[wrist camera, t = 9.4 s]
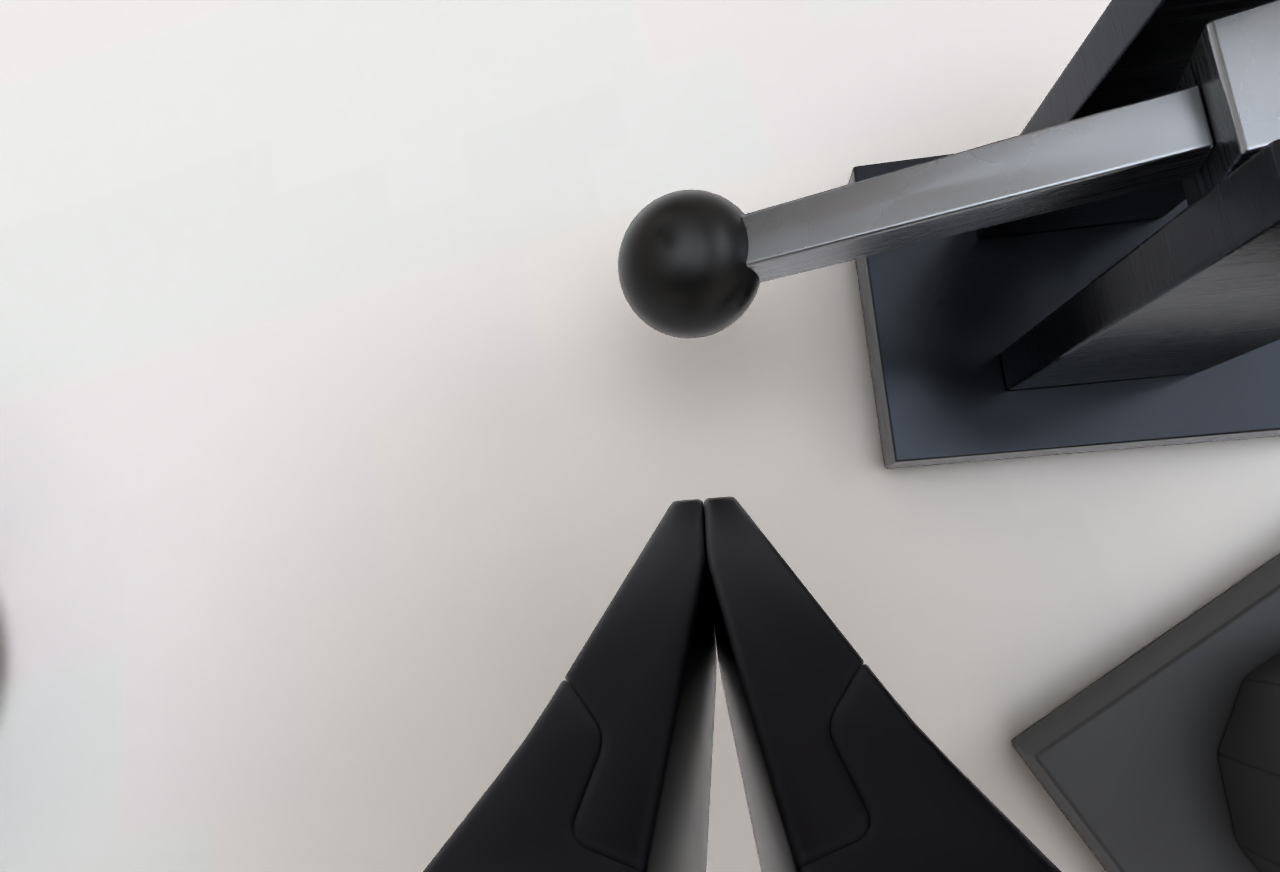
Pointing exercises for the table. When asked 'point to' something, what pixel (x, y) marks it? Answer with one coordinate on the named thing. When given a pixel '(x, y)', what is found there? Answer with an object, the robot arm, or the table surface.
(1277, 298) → the dark grey lever base
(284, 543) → the table surface
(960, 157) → the ball knob lever
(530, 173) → the table surface
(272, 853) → the table surface
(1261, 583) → the control block
